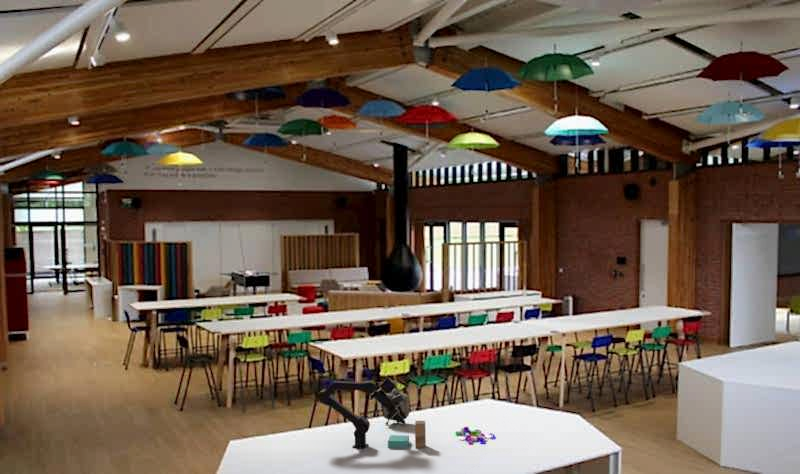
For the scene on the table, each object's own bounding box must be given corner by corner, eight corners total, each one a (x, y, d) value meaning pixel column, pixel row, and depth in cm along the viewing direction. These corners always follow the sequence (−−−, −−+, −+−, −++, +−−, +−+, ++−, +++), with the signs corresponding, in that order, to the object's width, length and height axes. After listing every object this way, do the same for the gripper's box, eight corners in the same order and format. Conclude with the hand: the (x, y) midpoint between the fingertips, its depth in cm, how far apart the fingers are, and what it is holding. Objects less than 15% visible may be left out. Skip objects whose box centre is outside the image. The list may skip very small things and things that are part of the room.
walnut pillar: (425, 448, 351) (424, 423, 351) (415, 448, 351) (415, 423, 351) (425, 445, 356) (425, 420, 356) (416, 445, 356) (415, 420, 356)
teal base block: (407, 449, 352) (406, 441, 352) (388, 448, 353) (387, 441, 353) (409, 442, 362) (409, 435, 362) (390, 442, 363) (390, 435, 363)
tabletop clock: (382, 425, 394) (382, 382, 393) (387, 421, 402) (386, 379, 402) (406, 427, 389) (405, 383, 389) (411, 422, 398) (410, 380, 398)
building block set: (498, 444, 357) (498, 436, 357) (460, 445, 356) (460, 437, 356) (490, 430, 382) (489, 422, 382) (453, 431, 381) (453, 423, 381)
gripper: (392, 393, 345) (415, 414, 344) (396, 384, 364) (417, 404, 363) (377, 408, 346) (399, 430, 345) (381, 399, 365) (402, 419, 364)
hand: (405, 420), depth 354 cm, fingers open, 9 cm apart
